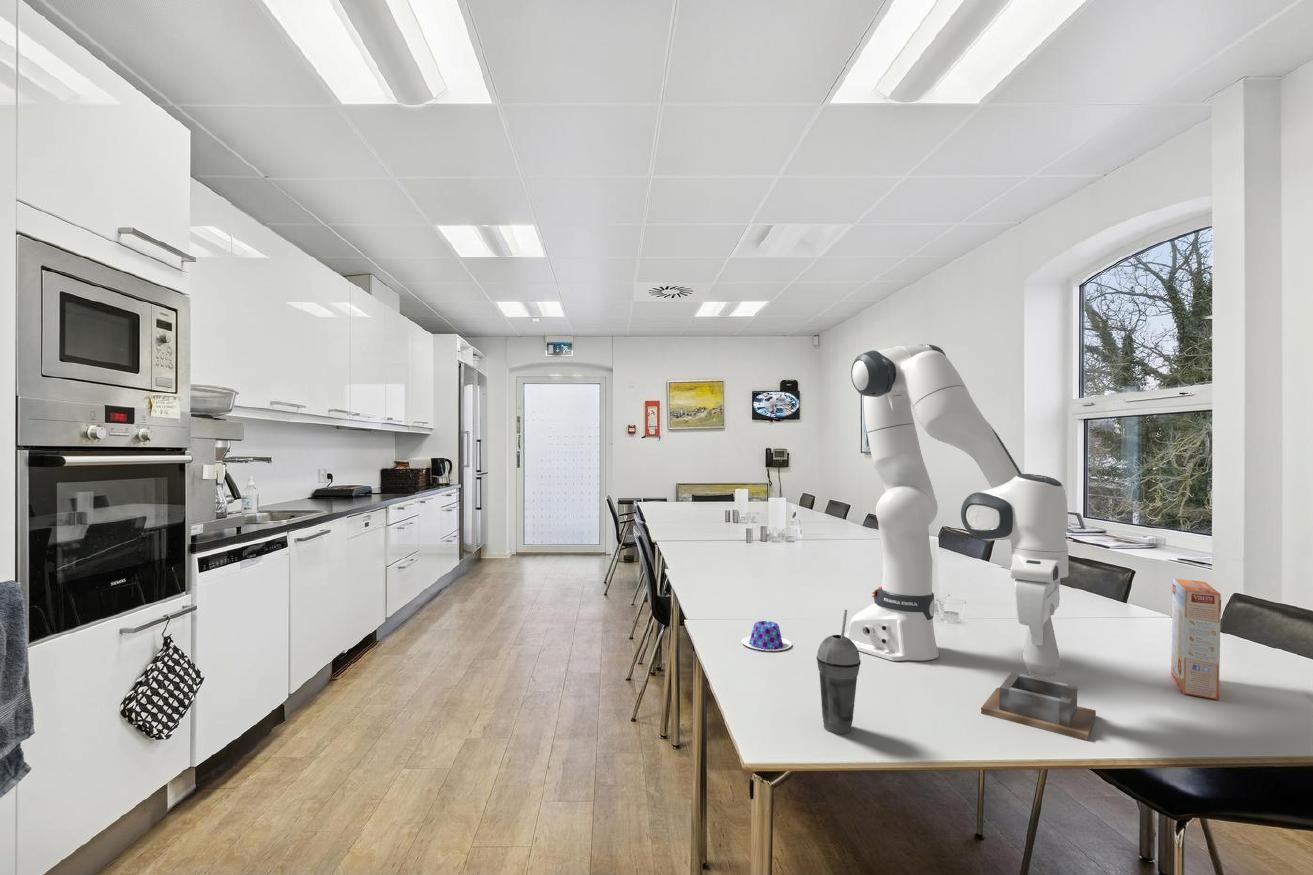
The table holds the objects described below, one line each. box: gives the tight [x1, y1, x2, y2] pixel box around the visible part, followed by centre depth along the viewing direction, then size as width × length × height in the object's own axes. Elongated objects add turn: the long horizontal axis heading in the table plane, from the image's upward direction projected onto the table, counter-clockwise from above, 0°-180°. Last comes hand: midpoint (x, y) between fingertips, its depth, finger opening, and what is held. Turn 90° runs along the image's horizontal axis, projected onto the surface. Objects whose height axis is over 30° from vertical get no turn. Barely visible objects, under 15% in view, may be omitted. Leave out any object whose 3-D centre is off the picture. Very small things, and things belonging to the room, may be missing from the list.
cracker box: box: [1170, 578, 1222, 701], centre depth 129 cm, size 14×6×21 cm, turn 148°
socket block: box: [980, 671, 1097, 742], centre depth 114 cm, size 16×13×5 cm
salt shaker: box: [1022, 603, 1062, 678], centre depth 114 cm, size 6×6×13 cm
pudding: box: [740, 620, 793, 652], centre depth 152 cm, size 12×12×5 cm
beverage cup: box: [815, 609, 862, 735], centre depth 107 cm, size 7×7×20 cm
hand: (1040, 641), depth 114 cm, fingers closed on salt shaker, 4 cm apart
